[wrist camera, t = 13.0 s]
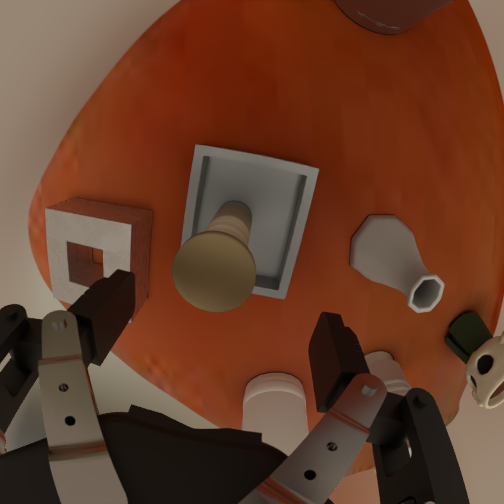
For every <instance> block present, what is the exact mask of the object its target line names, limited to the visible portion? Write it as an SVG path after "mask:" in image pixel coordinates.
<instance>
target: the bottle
mask: <svg viewBox="0 0 504 504" xmlns="http://www.w3.org/2000/svg"><path fill="white" fill-rule="evenodd" d="M242 430H244V431H251V432H259V433H262V442H264V443H267V444H269V445H271V446H274V447H275V448H277V449H279V450H281V451H282V452H284V453H285V454H286V455H287V456H289V455H290V454H291V453H292V452H293V451H294V450H295V449H296V448H297V447H298V446H299V445H300V443H301V442H302V441H303V440H304V439H305V438H306V437H307V435H308V434H309V432H308V423H307V415H306V400H305V393H304V391H303V385H302V383H301V382H300V381H299V379H297V378H295V377H294V376H292V375H288V374H284V373H267V374H263V375H259V376H257V377H256V378H254V379H252V380H251V381H250V382H249V383H248V384H247V386H246V389H245V396H244V400H243V422H242Z"/></svg>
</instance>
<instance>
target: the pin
mask: <svg viewBox="0 0 504 504" xmlns="http://www.w3.org/2000/svg"><path fill="white" fill-rule="evenodd" d="M251 224H252V213H251V210H250V209H249V207H248V206H247V205H246V204H244V203H243V202H240V201H236V200H233V201H228V202H226V203H224V204H223V205H222V206H221V207H220V208H219V210H218V211H217V213H216V215H215V216H214V218H213V219H212V221H211V222H210V224H209V225H208V227H207V228H206V230H205V231H204V232H201V233H198V234H196V235H194V236H192V237H190V238H189V239H188V240H187V241H186V242H185V243H184V244H183V245H182V246H181V248H180V249H179V251H178V252H177V253H176V255H175V258H174V260H173V264H172V277H173V281H174V284H175V286H176V288H177V290H178V292H179V293H180V294H181V296H182V297H183V298H184V299H185V300H186V301H187V302H189V303H190V304H192V305H193V306H195V307H197V308H199V309H202V310H205V311H210V312H224V311H229V310H232V309H234V308H236V307H238V306H240V305H241V304H243V303H244V302H245V301H246V300H247V299H248V298H249V296H250V295H251V293H252V291H253V288H254V285H255V278H256V266H255V261H254V258H253V255H252V253H251V252H250V250H249V248H248V245H249V238H250V231H251Z"/></svg>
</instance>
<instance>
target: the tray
mask: <svg viewBox="0 0 504 504" xmlns="http://www.w3.org/2000/svg"><path fill="white" fill-rule="evenodd" d="M318 172H319V169H318V168H316V167H314V166H310V165H306V164H302V163H298V162H293V161H289V160H284V159H280V158H275V157H271V156H266V155H261V154H256V153H251V152H245V151H240V150H234V149H229V148H223V147H217V146H210V145H204V144H196V145H195V151H194V157H193V162H192V169H191V175H190V181H189V188H188V195H187V202H186V209H185V217H184V225H183V233H182V241H181V246H182V245H183V244H184V243H185V242H186V241H187V240H188V239H189V238H190V237H192V236H194V235H196V234H198V233H201V232H204V231H205V230H206V228H207V227H208V225H209V224H210V222H211V221H212V219H213V218H214V216H215V215H216V213H217V211H218V210H219V208H220V207H221V206H222V205H223V204H224V203H226V202H228V201H233V200H236V201H240V202H243V203H244V204H246V205H247V206H248V207H249V209H250V210H251V213H252V224H251V231H250V238H249V245H248V248H249V250H250V252H251V253H252V255H253V258H254V261H255V266H256V278H255V285H254V288H253V291H252V294H257V295H263V296H268V297H274V298H279V299H285V297H286V294H287V290H288V287H289V283H290V280H291V276H292V273H293V269H294V265H295V262H296V258H297V254H298V251H299V247H300V243H301V240H302V236H303V232H304V228H305V224H306V220H307V217H308V213H309V209H310V205H311V201H312V197H313V193H314V188H315V184H316V180H317V176H318Z"/></svg>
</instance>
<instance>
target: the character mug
mask: <svg viewBox="0 0 504 504" xmlns="http://www.w3.org/2000/svg"><path fill="white" fill-rule="evenodd" d="M449 332H450V333H451V334H452V335H453V336H452V341H451V340H450V339H449V338H448V337H446V344H447V345H448V346H449V347H450V348H451V350H452V351H453V352H454V353H455V354H456V355H457V356H458V357H459V358H460V359H461V360H462V361H463V362H464V363H465V364H466V370H465V372H466V379H467V381H468V383H469V385H470V386H471V387H472V388H473V391H472V395H473V397H474V399H475V400H476V402H477V404H478V405H479V406H480V407H483V406H484V407H485V408H487V409H491V408H494V407H496V406H498V405H499V404H501V403H502V402H503V401H504V331H503V333H502V335H501V336H497V337H493V336H492V334H491V333H490V331H489V330H488V328H487V327H486V325H485V323H484V322H483V320H482V319H481V318H480V316H479V315H478V314H477V313H473V312H470V313H467V314H463V315H462V316H461V317H459V318H458V319H457V320H456V321H455V322H454V323H453V325H452V326H451V327H450V329H449Z"/></svg>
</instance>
